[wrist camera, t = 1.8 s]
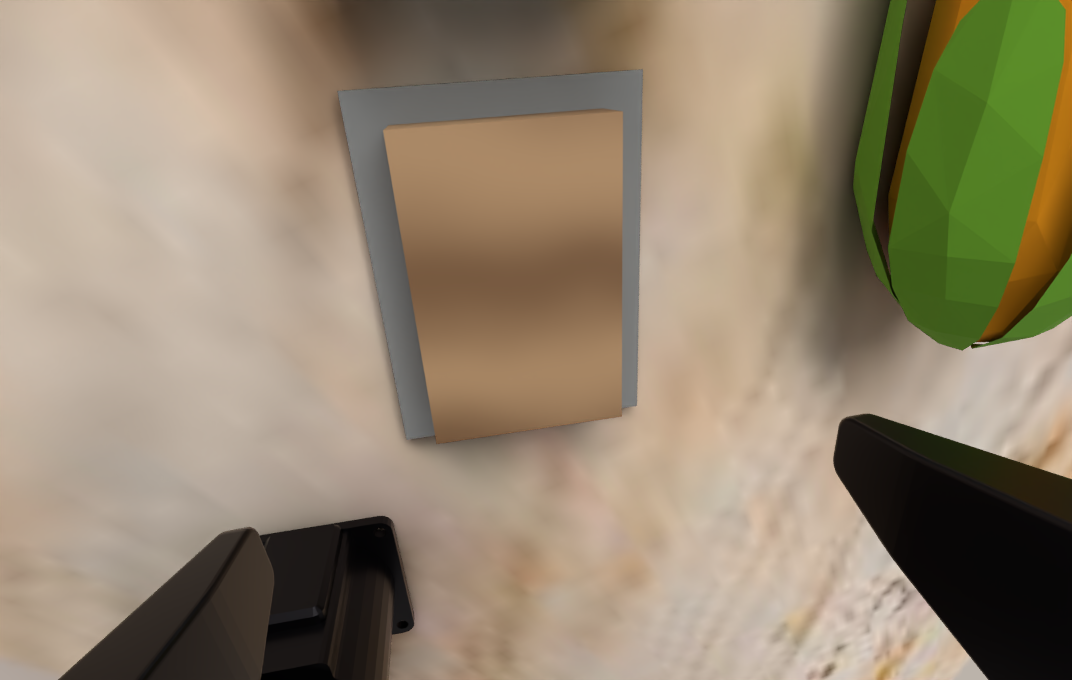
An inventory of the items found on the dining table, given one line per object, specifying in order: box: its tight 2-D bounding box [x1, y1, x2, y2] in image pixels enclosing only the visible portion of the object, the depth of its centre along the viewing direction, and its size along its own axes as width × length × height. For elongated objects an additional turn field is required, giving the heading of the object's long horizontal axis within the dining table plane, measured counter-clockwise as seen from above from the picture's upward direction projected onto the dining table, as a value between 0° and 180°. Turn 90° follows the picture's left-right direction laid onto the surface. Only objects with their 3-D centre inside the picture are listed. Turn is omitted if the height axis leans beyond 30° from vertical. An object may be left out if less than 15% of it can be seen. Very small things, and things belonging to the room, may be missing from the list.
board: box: [383, 108, 623, 444], centre depth 18 cm, size 10×6×2 cm, turn 4°
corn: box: [853, 0, 1072, 350], centre depth 15 cm, size 7×8×20 cm
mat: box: [338, 69, 643, 440], centre depth 19 cm, size 12×9×1 cm
